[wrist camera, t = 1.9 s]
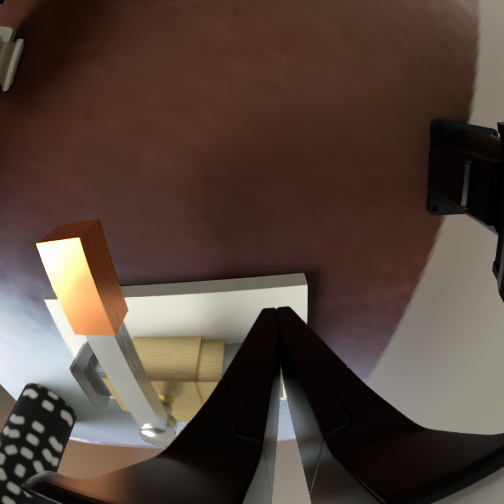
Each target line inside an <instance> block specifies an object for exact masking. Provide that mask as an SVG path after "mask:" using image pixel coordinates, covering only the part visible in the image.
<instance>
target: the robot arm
mask: <svg viewBox="0 0 504 504" xmlns="http://www.w3.org/2000/svg"><path fill="white" fill-rule="evenodd" d="M437 125H439V130H437ZM497 125H498V133H500V137H498V133H497V131H496V130H495V129H492V128H487V127H481V126H476V125H470V124H464V123H458V122H451V121H444V120H433V121H432V122H431V126H430V151H429V170H428V185H427V186H428V196H427V206H426V208H427V211H428V212H429V213H430V214H431V215H452V214H453V215H454V214H466V215H468V216H470V217H471V218H472V219H474V220H475V221H477V222H478V223H480V224H482V225H483V226H484V227H486V228H487V229H489V230H490V231H492V232H493V233H494V234H496V235H497V236H498V243H497V251H496V258H495V261H494V262H493V268H492V271H493V273H494V275H495V277H496V279H497V283H498V291H499V294H500V296H501V298H502V300H503V302H504V122H498V123H497ZM492 133H493V136H492ZM434 205H435V208H434V209H433V210H432V207H433V206H434ZM281 373H282V379H283V384H284V388H285V392H286V396H287V401H288V405H289V409H290V414H291V418H292V422H293V426H294V431H295V435H296V439H297V443H298V448H299V452H300V456H301V461H302V465H303V469H304V474H305V478H306V482H307V486H308V491H309V495H310V499H311V504H504V433H502V434H495V435H482V434H468V433H458V432H449V431H440V430H433V429H428V428H425V427H422V426H420V425H418V424H417V423H415V422H413V421H412V420H410V419H409V418H407V417H406V416H405V415H404V414H402V413H401V412H400V411H398V410H397V409H396V408H394V407H393V406H392V405H391V404H389V403H388V402H387V401H385V400H384V399H383V398H381V397H380V396H379V395H378V394H377V393H375V392H374V391H373V390H372V389H371V388H369V387H368V386H367V385H366V384H365V383H364V382H363V381H362V380H361V379H360V378H359V377H358V376H357V375H355V373H354V372H353V371H352V370H351V369H350V368H347V365H346V364H345V363H344V362H343V361H342V360H341V359H340V358H339V357H338V356H337V355H336V354H335V353H334V352H333V351H332V350H331V349H330V348H329V347H328V346H327V345H326V344H325V342H324V341H323V340H322V339H321V338H320V337H319V336H318V335H317V334H316V333H315V332H314V331H313V330H312V329H311V328H310V327H309V326H308V325H307V324H306V323H305V322H304V321H303V320H302V319H301V317H300V316H299V315H298V314H297V313H296V312H295V311H294V310H293V309H292V308H291V307H290V306H283V307H277V309H276V308H274V307H272V308H263V309H262V310H261V312H260V314H259V315H258V317H257V319H256V320H255V322H254V324H253V326H252V327H251V329H250V331H249V332H248V334H247V336H246V337H245V339H244V341H243V343H242V344H241V346H240V348H239V349H238V351H237V353H236V354H235V356H234V358H233V359H232V361H231V363H230V364H229V366H228V368H227V369H226V371H225V373H224V374H223V376H222V377H221V380H219V382H218V384H217V385H216V387H215V389H214V390H213V392H212V393H211V395H210V396H209V398H208V399H207V401H206V402H205V403H204V404H203V406H202V407H201V408H200V409H199V411H198V412H197V413H196V414H195V416H194V417H193V418H192V419H191V420H190V421H189V423H188V424H187V425H186V426H185V427H184V428H183V429H182V431H181V432H180V433H179V434H178V435H177V436H176V437H175V438H174V440H173V441H172V442H171V443H170V444H169V445H168V446H167V447H166V448H165V449H164V450H163V451H161V452H160V453H159V454H157V455H155V456H154V457H152V458H150V459H147V460H145V461H142V462H139V463H136V464H133V465H131V466H128V467H125V468H122V469H119V470H116V471H113V472H110V473H107V474H104V475H101V476H96V477H92V478H83V479H81V478H71V477H67V476H64V475H61V474H59V473H56V472H52V471H44V472H41V473H39V474H36V475H34V476H32V477H30V478H29V479H27V480H26V481H25V482H24V483H23V484H22V486H21V488H22V489H23V490H24V491H25V492H26V493H28V494H29V495H30V496H32V497H34V498H35V499H37V500H38V501H40V502H41V503H43V504H271V503H272V492H273V482H274V471H275V459H276V446H277V434H278V420H279V405H280V389H281ZM0 504H3V503H2V502H0Z"/></svg>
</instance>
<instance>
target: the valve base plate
mask: <svg viewBox="0 0 504 504" xmlns="http://www.w3.org/2000/svg"><path fill="white" fill-rule="evenodd" d="M120 287H121V290H122V293H123V296H124V299H125V302H126V304H127V307H128V312H127V314H126V316H125V318H124V320H123V321H124V323H125V326H126V328H127V331H128V333H129V335H130V338H131V340H132V341H134V338H135V337H179V336H202V339H203V340H211V339H225V343H226V344H232V343H243V341H244V339H245V337H246V336H247V334H248V332H249V331H250V329H251V327H252V326H253V324H254V322H255V320H256V319H257V317H258V315H259V314H260V312H261V310H262V309H263V308H272V307H274V308H276V309H277V307H283V306H290V307H291V308H292V309H293V310H294V311H295V312H296V313H297V314H298V315H299V316H300V317H301V319H302V320H303V321H304V322H305V323H306V324H307V294H308V285H307V281H306V278H305V275H304V273H296V274H285V275H274V276H262V277H250V278H238V279H225V280H212V281H198V282H184V283H169V284H154V285H137V286H120ZM44 300H45V303H46V305H47V307H48V309H49V311H50V313H51V315H52V317H53V319H54V321H55V323H56V325H57V327H58V329H59V331H60V333H61V335H62V337H63V339H64V341H65V342H66V344H67V346H68V348H69V350H70V351H71V353H72V355H73V357H74V358H75V357H76V355H77V354H78V352H79V350H80V348H81V346H82V345H83V344H86V342H87V341H88V340H87V338H86V336H85V335H75V334H74V332H73V330H72V328H71V326H70V324H69V322H68V320H67V318H66V315H65V313H64V311H63V309H62V307H61V305H60V302H59V300H58V298H57V296H56V293H55V291H54V290H52V291H51V292H50V293H49V295H48V296H47V297H46V298H45V299H44ZM110 398H114V397H113V396H110ZM114 399H115V398H114ZM283 399H287V396H286V392H285V388H284V384H283V398H280V400H283Z"/></svg>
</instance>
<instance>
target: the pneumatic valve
mask: <svg viewBox="0 0 504 504" xmlns="http://www.w3.org/2000/svg"><path fill="white" fill-rule="evenodd" d="M3 2H4V0H0V9H1V6H2V4H3ZM16 33H17V30H16V29H15V28H10V27H0V85H2V89H3V91H7V90H8V89H9V87H10V85H12V84H13V80H14V76H15V73H16V70H17V66H18V63H19V60H20V57H21V54H22V51H23V48H24V45H25V44H23V43H24V42H23V41H24V39H17V40H16V42H13V41H14V38H15V35H16Z"/></svg>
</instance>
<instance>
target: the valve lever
mask: <svg viewBox="0 0 504 504" xmlns="http://www.w3.org/2000/svg"><path fill="white" fill-rule="evenodd" d="M37 247H38V250H39V252H40V255H41V258H42V261H43V263H44V266H45V269H46V271H47V274H48V276H49V279H50V281H51V284H52V286H53V289H54V291H55V293H56V296H57V298H58V300H59V302H60V305H61V307H62V309H63V311H64V313H65V315H66V318H67V320H68V322H69V324H70V326H71V328H72V330H73V332H74V334H75V335H85V336H86V338H87V340H88V342H89V344H90V346H91V348H92V350H93V352H94V354H95V356H96V357H97V359H98V361H99V363H100V365H101V366H102V368H103V370H104V372H105V373H106V375H107V377H108V379H109V380H110V382H111V384H112V385H113V387H114V389H115V390H116V392H117V393H118V395H119V397H120V398H121V400H122V401H123V403H124V404H125V406H126V408H127V409H128V411H129V412H130V414H131V415H132V416H133V418H134V419H135V421H136V422H137V424H138V425H139V427H140V428H141V431H140V437H141V438H142V439H143V440H144V441H146V442H148V443H150V444H153V445H156V446H161V447H167V446H168V445H169V444H170V443H171V442H172V441H173V440H174V438H175V435H176V429H177V423H178V422H177V419H176V418H175V417H174V416H172V415H171V414H172V409H173V407H172V406H171V405H170V404H169V403H167V402H163V401H160V399H159V397H158V395H157V393H156V391H155V389H154V387H153V385H152V383H151V381H150V379H149V377H148V375H147V373H146V371H145V369H144V367H143V365H142V362H141V360H140V358H139V356H138V354H137V351H136V349H135V347H134V345H133V342H132V340H131V338H130V335H129V333H128V331H127V328H126V326H125V323H124V321H123V320H124V318H125V316H126V314H127V312H128V307H127V304H126V302H125V299H124V296H123V293H122V290H121V287H120V284H119V281H118V278H117V275H116V272H115V269H114V266H113V263H112V260H111V256H110V253H109V250H108V246H107V243H106V239H105V236H104V232H103V229H102V225H101V221H100V219H98V220H91V221H85V222H79V223H73V224H67V225H62V226H59V227H57V228H56V229H55V230H53V231H52V232H51V233H50V234H48V235H47V236H46V237H44V238H43V239H42V240H41V241H40V242H38V243H37Z"/></svg>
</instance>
